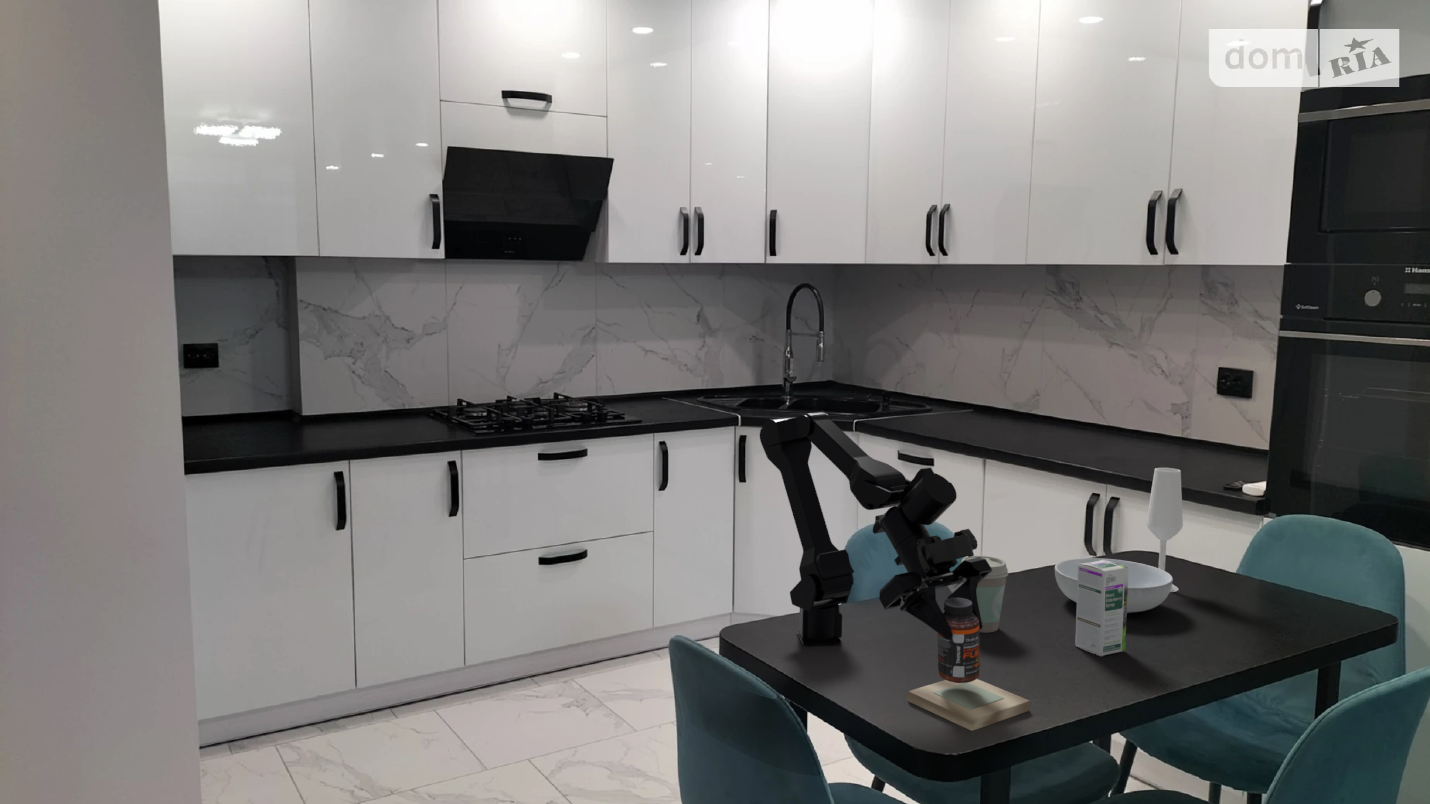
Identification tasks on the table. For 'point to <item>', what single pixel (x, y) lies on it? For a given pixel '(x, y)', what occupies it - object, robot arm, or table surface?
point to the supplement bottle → (959, 643)
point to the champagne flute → (1165, 509)
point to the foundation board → (969, 702)
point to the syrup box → (1101, 607)
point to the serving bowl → (1143, 582)
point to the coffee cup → (991, 593)
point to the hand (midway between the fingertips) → (965, 633)
